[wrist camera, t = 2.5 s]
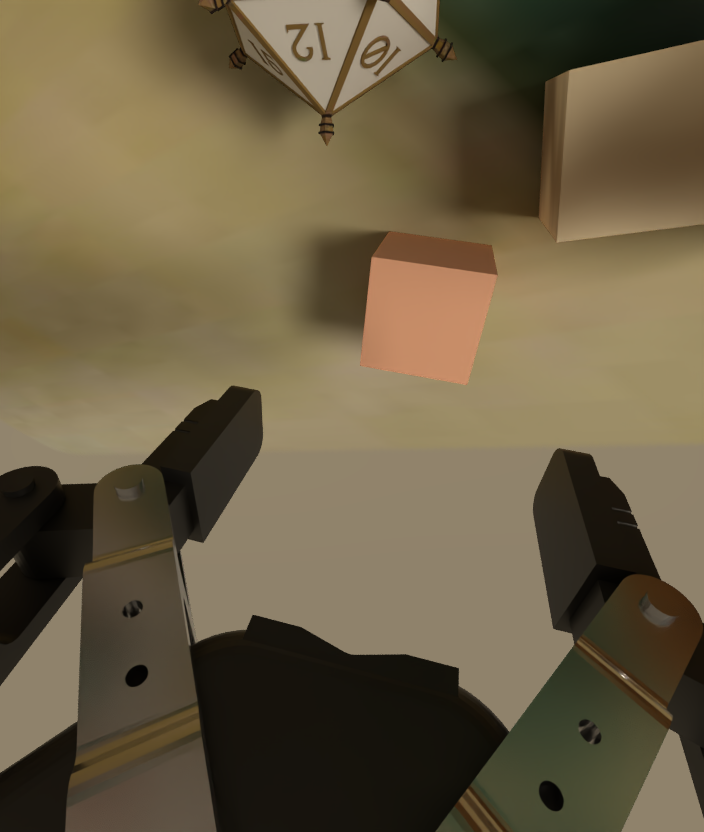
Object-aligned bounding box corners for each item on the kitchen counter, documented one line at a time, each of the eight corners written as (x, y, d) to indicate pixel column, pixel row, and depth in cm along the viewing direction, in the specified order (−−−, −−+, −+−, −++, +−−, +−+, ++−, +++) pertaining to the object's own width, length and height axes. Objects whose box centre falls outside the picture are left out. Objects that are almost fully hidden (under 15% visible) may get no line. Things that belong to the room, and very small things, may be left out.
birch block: (545, 81, 17) (569, 70, 13) (694, 48, 16) (772, 24, 12) (538, 217, 20) (556, 242, 16) (665, 199, 18) (721, 221, 14)
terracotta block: (389, 230, 21) (371, 257, 17) (491, 244, 21) (497, 275, 17) (377, 324, 24) (360, 365, 20) (466, 339, 24) (467, 384, 20)
